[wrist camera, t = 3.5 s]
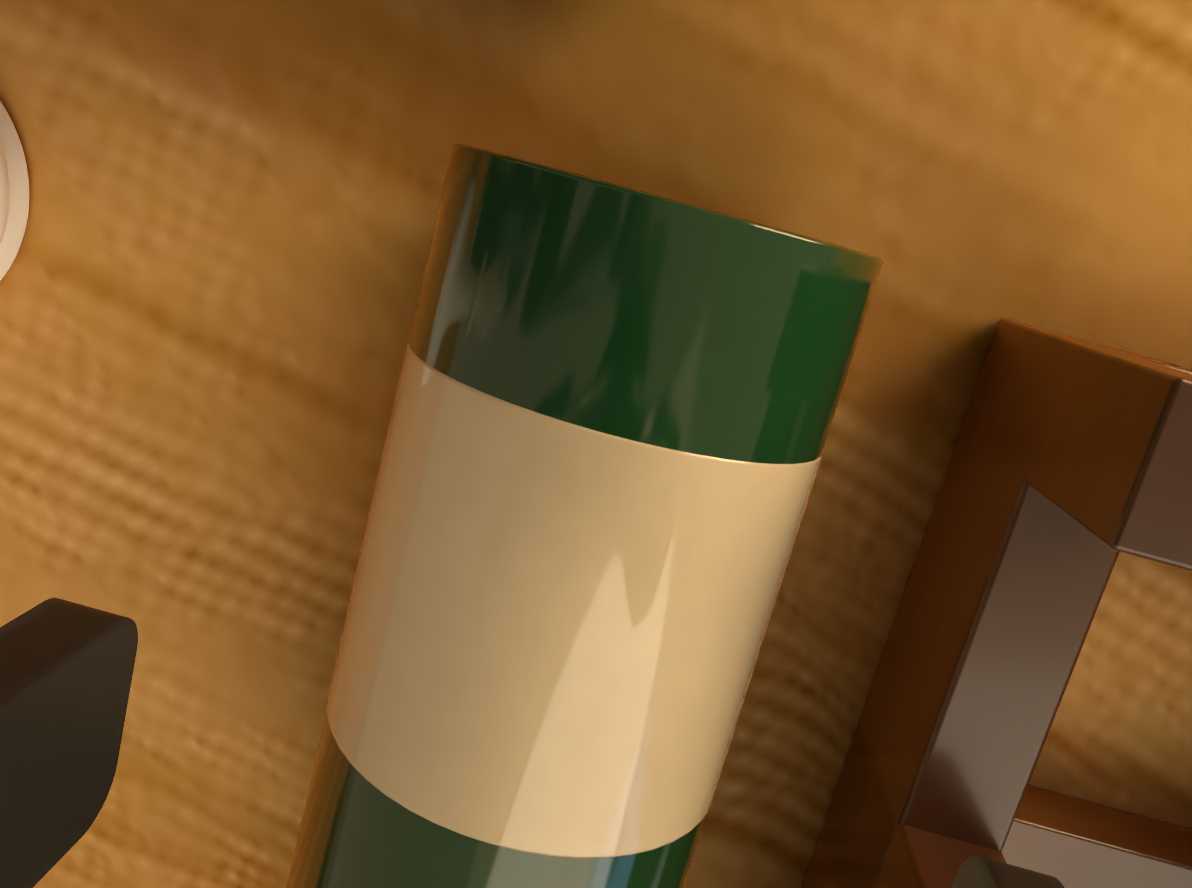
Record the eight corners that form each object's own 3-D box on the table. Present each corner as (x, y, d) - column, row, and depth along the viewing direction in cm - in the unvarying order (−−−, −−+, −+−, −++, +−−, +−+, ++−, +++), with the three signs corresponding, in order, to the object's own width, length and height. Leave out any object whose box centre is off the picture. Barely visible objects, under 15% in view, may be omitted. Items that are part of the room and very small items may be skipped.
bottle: (493, 155, 18) (402, 126, 12) (848, 251, 18) (932, 270, 12) (285, 1047, 22) (139, 1357, 16) (574, 1130, 22) (534, 1471, 16)
